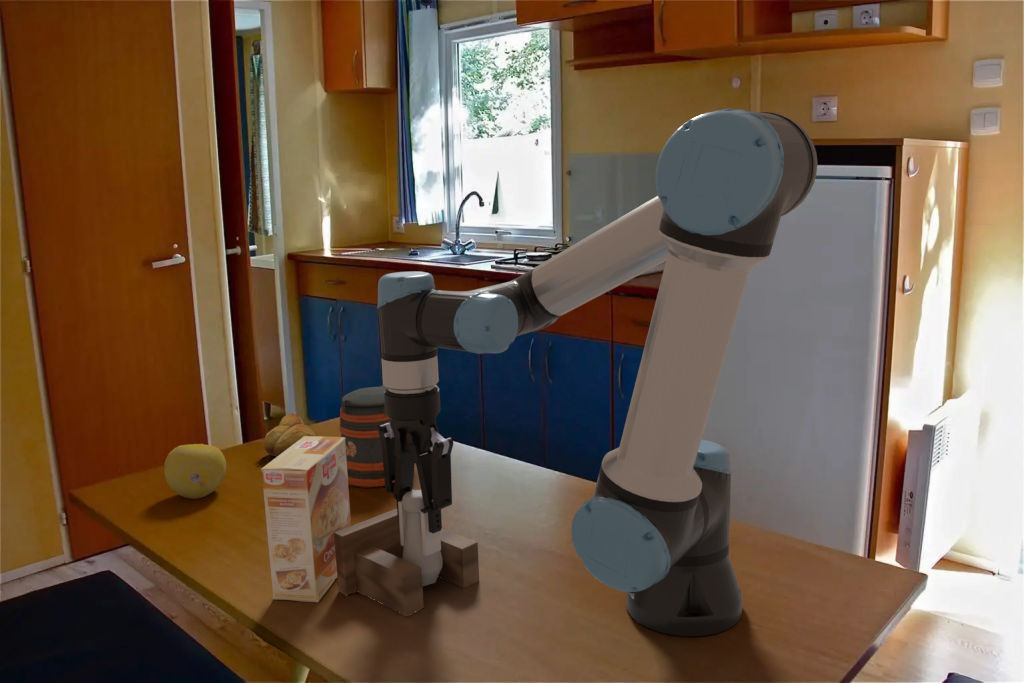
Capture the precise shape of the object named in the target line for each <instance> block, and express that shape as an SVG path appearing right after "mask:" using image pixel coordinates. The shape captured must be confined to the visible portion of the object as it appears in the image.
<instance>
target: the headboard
mask: <svg viewBox="0 0 1024 683" xmlns="http://www.w3.org/2000/svg"><path fill="white" fill-rule="evenodd" d="M440 537H441V550H440V552H441V555H442V559H443V565H442V569H441V571H440V573H439V575H438V576H439V577H438V578H440V577H441V578H440V579H442V578H443V580H444V579H445V580H444V581H446V580H448V581H447V582H449V581H450V582H449V583H451V582H452V583H451V584H453V583H454V584H453V585H455V584H456V585H455V586H457V585H458V587H460V586H461V587H460V588H462V587H463V588H462V589H466V588H468V587H470V586H472V585H474V584H476V583H478V582H480V567H479V565H480V563H479V549H478V548H479V546H478V545H479V544H478V541H476V540H474V539H471V538H469V537H466V536H464V535H460V534H458V533H456V532H453V531H450V530H447V529H445V528H443V527H442V529H441V531H440ZM334 540H335V553H336V565H337V578H336V579H337V588H338V589H337V590H338V592H339V593H340V592H341V593H340V594H342V593H343V594H342V595H344V594H345V595H344V596H346V595H349V594H351V593H353V592H355V593H357V592H356V591H359V592H360V593H359V592H358V593H359V594H361V593H362V594H361V595H363V594H365V595H367V596H369V597H371V598H372V599H375V600H376V601H379V602H381V603H383V604H384V605H386V606H388V607H390V608H392V609H394V610H396V611H398V612H400V613H401V614H403V615H405V616H408V617H410V616H411V615H410V614H412V613H414V612H415V611H418V610H420V609H422V608H424V590H423V586H422V571H421V567H419V566H417V565H414V564H412V563H410V562H408V561H405V560H403V549H404V546H402V545H401V540H400V524H399V519H398V515H397V508H394V509H392V510H389V511H386V512H384V513H382V514H379V515H377V516H374V517H371V518H368V519H366V520H363V521H360V522H358V523H355V524H353V525H352V524H351V526H350V527H347V528H345V529H342V530H339V531H337V532H334ZM465 587H466V588H465ZM353 594H354V593H353ZM351 595H352V594H351ZM365 595H364V596H365ZM349 596H350V595H349ZM372 599H371V600H372ZM376 601H375V602H376ZM384 605H383V606H384ZM386 606H385V607H386ZM388 607H387V608H388ZM390 608H389V609H390ZM392 609H391V610H392ZM394 610H393V611H394ZM422 610H423V609H422ZM396 611H395V612H396ZM420 611H421V610H420ZM398 612H397V613H398ZM418 612H419V611H418ZM400 613H399V614H400ZM401 614H400V615H401ZM414 614H415V613H414ZM403 615H402V616H403ZM409 615H410V616H409ZM412 615H413V614H412ZM405 616H404V617H405Z"/></svg>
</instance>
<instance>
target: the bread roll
mask: <svg viewBox="0 0 1024 683" xmlns="http://www.w3.org/2000/svg"><path fill="white" fill-rule="evenodd" d="M303 436H316V435H315V432H314V431H313V430H312V429H311V428H310V427H309V426H308V425H307V424H305V423H304V422H303V419H302V418H301V416H299V415H298V414H295V413H292V412H291V413H288V414H286V415H284V416H283V417H282V418H281V420H280V422H279V423H278V425H277V426H275V427H274V428H272V429H271V430H269V431H268V432H267V433H266V435H265V437H264V439H263V448H264V451H265V452H266V453H267V454H269V455H270V456H273V457H275V458H276V457H277V456H279V455H280V454H281V453H283V452H284V451H285V450H287V449H288V448H289V447H291V446H292V445H293V444H295V443H296V442H297V441H299V440H300V439H301V438H302V437H303Z"/></svg>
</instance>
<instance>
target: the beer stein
mask: <svg viewBox="0 0 1024 683" xmlns="http://www.w3.org/2000/svg"><path fill="white" fill-rule="evenodd" d="M386 389H387V388H386V387H385V386H384V385H383V384H381V385H380V386H371V387H363V388H358V389H355V390H353V391H351V392H348V393H347V394H345V395H344V396H342V398H341V402H342V403H341V407H340V409H339V412H340V413H339V415H340V416H339V432H340V437H345V438H346V439H345V445H346V459H347V474H348V486H351V487H356V488H366V489H367V488H370V489H374V487H376V488H380V487H381V488H383V487H382V486H385V480H384V468H383V456H382V445H381V439H380V436H379V433H378V426H379V425H383V424H386V423H390V420H391V419H390V418H389V417H387V416H386V414H385V402H384V391H385V390H386ZM415 470H416V469H414V472H415ZM393 482H395V480H394V481H392V483H393ZM371 487H373V488H371Z"/></svg>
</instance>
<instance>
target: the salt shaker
mask: <svg viewBox="0 0 1024 683" xmlns="http://www.w3.org/2000/svg"><path fill="white" fill-rule="evenodd" d="M432 501H433V500H432ZM402 505H403V509H404V511H406V512H407V518H406V529H405V539H404V549H403V560H405V561H408V562H410V563H412V564H414V565H417V566H419V567H421V571H422V587H425V586H429V585H431V584H435V583H437V579H438V578H439V577H438V575H439V573H440V571H441V569H442V565H443V559H442V555H441V552H440V550H439V551H437V552H435V553H432V554H430V555H428V556H425V555H423V548H422V530H421V513H420V509H422V508H424V503H423V498H422V492H421V489H413V491H410V492H407V493H406V494H405V495H404V496H403V500H402Z"/></svg>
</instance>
